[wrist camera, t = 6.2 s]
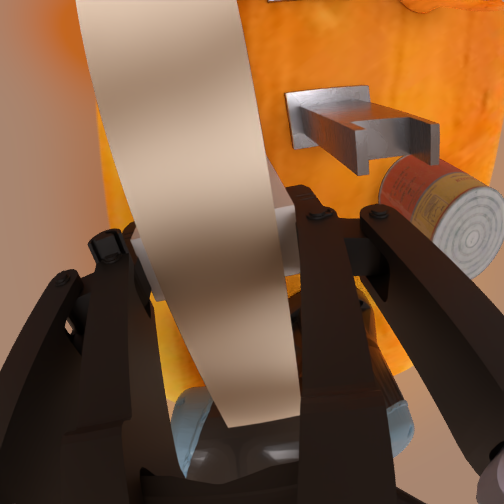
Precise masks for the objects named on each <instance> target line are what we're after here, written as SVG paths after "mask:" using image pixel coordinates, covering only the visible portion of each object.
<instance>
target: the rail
mask: <svg viewBox="0 0 504 504" xmlns="http://www.w3.org/2000/svg"><path fill="white" fill-rule="evenodd" d="M76 6H77V12H78V17H79V23H80V28H81V33H82V39H83V43H84V48H85V53H86V58H87V62H88V67H89V70H90V75H91V79H92V83H93V88H94V92H95V96H96V99H97V103H98V107H99V111H100V114H101V118H102V122H103V125H104V129H105V132H106V136H107V139H108V142H109V146H110V149H111V152H112V156H113V159H114V162H115V165H116V168H117V172H118V175H119V178H120V181H121V184H122V187H123V190H124V193H125V196H126V199H127V201H128V204H129V207H130V210H131V213H132V216H133V218H134V221H135V224H136V227H137V229H138V232H139V235H140V237H141V240H142V243H143V245H144V248H145V250H146V253H147V255H148V258H149V261H150V263H151V266H152V268H153V271H154V273H155V275H156V278H157V280H158V283H159V285H160V288H161V290H162V292H163V295H164V297H165V299H166V302H167V304H168V306H169V309H170V311H171V313H172V315H173V318H174V320H175V322H176V324H177V327H178V329H179V331H180V333H181V335H182V337H183V340H184V342H185V344H186V346H187V348H188V350H189V352H190V354H191V357H192V359H193V361H194V363H195V365H196V367H197V369H198V371H199V373H200V375H201V377H202V379H203V381H204V383H205V385H206V387H207V389H208V391H209V393H210V395H211V397H212V398H213V400H214V402H215V404H216V406H217V408H218V410H219V412H220V414H221V415H222V417H223V419H224V421H225V423H226V425H227V426H228V428H230V427H237V426H244V425H250V424H257V423H262V422H268V421H273V420H279V419H284V418H289V417H293V416H298V415H300V401H301V396H300V387H299V379H298V371H297V363H296V355H295V347H294V340H293V332H292V325H291V317H290V310H289V303H288V296H287V289H286V282H285V275H284V268H283V261H282V254H281V248H280V241H279V235H278V228H277V222H276V215H275V209H274V203H273V196H272V190H271V184H270V178H269V172H268V166H267V160H266V154H265V148H264V143H263V137H262V131H261V125H260V120H259V114H258V109H257V103H256V98H255V92H254V87H253V81H252V76H251V71H250V66H249V60H248V55H247V50H246V45H245V40H244V35H243V30H242V25H241V20H240V15H239V10H238V5H237V1H236V0H76Z"/></svg>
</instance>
